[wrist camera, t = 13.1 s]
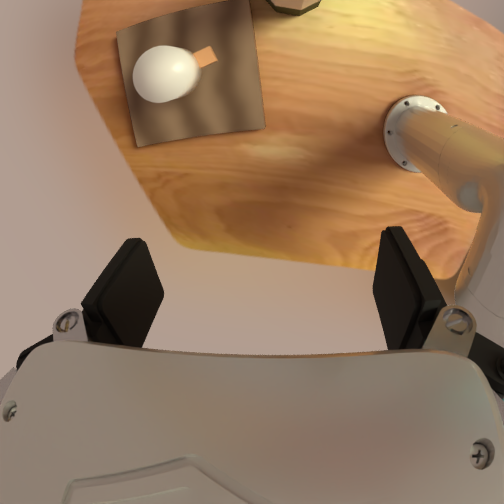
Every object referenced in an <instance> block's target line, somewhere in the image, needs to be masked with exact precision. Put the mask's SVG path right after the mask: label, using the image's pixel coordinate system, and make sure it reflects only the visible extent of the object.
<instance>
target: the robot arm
mask: <svg viewBox="0 0 504 504" xmlns="http://www.w3.org/2000/svg"><path fill="white" fill-rule="evenodd" d="M404 102H406V104H404ZM435 106H436V108H435ZM388 131H390V132H389V133H387V132H388ZM383 135H384V142H385V145H386V148H387V150H388V152H389V154H390V156H391V157H392V158H393V160H394V161H396V162H397V164H399V165H400V166H401V167H403V168H404V169H406V170H409V171H412V172H418V173H423V174H424V175H425V176H426V177H427V178H429V179H430V180H431V181H432V182H433V183H434V184H435V185H436V186H437V187H438V188H439V189H440V190H441V191H442V192H443V193H444V194H445V195H446V196H447V197H448V198H449V199H450V200H451V201H452V202H453V203H455V204H456V205H457V206H458V207H460V208H462V209H463V210H466V211H469V212H473V213H481V217H480V220H479V223H478V226H477V231H476V234H475V237H474V239H473V242H472V245H471V247H470V250H469V253H468V255H467V257H466V260H465V262H464V265H463V267H462V269H461V272H460V274H459V277H458V280H457V283H456V287H455V303H456V305H449V306H447V304H446V302H445V300H444V298H443V296H442V294H441V292H440V290H439V288H438V286H437V284H436V282H435V280H434V278H433V277H432V275H431V273H430V271H429V269H428V267H427V265H426V264H425V262H424V261H423V260H422V259H420V257H419V255H418V253H417V252H416V250H415V248H414V246H413V245H412V243H411V241H410V240H409V238H408V236H407V235H406V233H405V231H404V230H403V228H402V227H401V226H392V227H387V228H386V230H383V231H382V232H381V239H380V246H379V252H378V259H377V265H376V271H375V276H374V282H373V295H374V298H375V302H376V305H377V308H378V312H379V316H380V320H381V324H382V327H383V331H384V335H385V339H386V343H387V347H388V350H384V351H371V352H355V353H336V354H311V355H237V354H212V353H195V352H182V351H169V350H158V349H148V348H142V346H143V343H144V341H145V339H146V336H147V334H148V332H149V329H150V327H151V325H152V322H153V320H154V318H155V316H156V313H157V311H158V308H159V307H160V304H161V302H162V300H163V298H164V290H163V287H162V285H161V282H160V279H159V277H158V275H157V271H156V269H155V266H154V263H153V261H152V258H151V255H150V252H149V250H148V247H147V244H146V242H145V241H143V240H142V239H141V238H132V239H131V238H130V239H127V240H126V241H125V242H124V243H123V245H122V246H121V247H120V249H119V250H118V252H117V253H116V254H115V256H114V257H113V258H112V259H111V261H110V262H109V264H108V265H107V266H106V268H105V269H104V270H103V272H102V273H101V275H100V276H99V277H98V279H97V280H96V282H95V283H94V285H93V286H92V288H91V289H90V290H89V292H88V293H87V295H86V296H85V298H84V299H83V301H82V302H81V305H82V307H83V308H84V309H83V311H82V312H81V311H80V310H79V309H69V310H67V311H65V312H63V313H62V314H60V315H59V316H58V317H57V319H56V320H55V322H54V324H53V334H52V335H50V336H48V337H47V338H45V339H43V340H41V341H39V342H38V343H36V344H34V345H33V346H31V347H29V348H27V349H26V350H24V351H23V352H22V353H21V354H20V356H19V358H18V360H17V365H16V368H17V369H15V368H14V367H13V368H12V369H11V370H10V371H9V372H8V373H7V374H6V375H5V376H4V377H3V378H2V379H1V380H0V504H504V138H502V137H499V136H497V135H495V134H492V133H490V132H488V131H486V130H484V129H482V128H479V127H477V126H475V125H473V124H471V123H468V122H466V121H463V120H461V119H459V118H456V117H454V116H451V115H449V114H448V113H447V112H446V110H445V109H444V108H443V107H442V106H441V104H439V103H438V102H437V101H435V100H433V99H431V98H429V97H426V96H421V95H411V96H407V97H404V98H402V99H401V100H399V101H397V102H396V103H395V104H394V105H393V106H392V108H391V109H390V110H389V112H388V114H387V116H386V118H385V123H384V130H383ZM403 161H404V162H403ZM402 162H403V163H402Z"/></svg>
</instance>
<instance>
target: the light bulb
mask: <svg viewBox="0 0 504 504" xmlns="http://www.w3.org/2000/svg"><path fill="white" fill-rule="evenodd" d="M217 61H218V60H217V58H216V56H215V54H214V52H213V49H212V47H211V46H208V47H206V48H204V49H202V50H199V51H197V52H195V53H192V52H191V51H189V50H187V49H183V48H178V47H172V46H157V47H153V48H151V49H149V50H147V51H146V52H145V53H143V54H142V55H141V57H140V58H139V59H138V60H137V62H136V64H135V67H134V70H133V83H134V87H135V89H136V91H137V92H138V93H139V95H140V96H141V97H143V98H144V99H146V100H147V101H150V102H154V103H163V102H167V101H170V100H174V99H177V98H180V97H183V96H186V95H188V94H189V93H191V92H192V91H193V90H194V89H195V88H196V86H197V85H198V83H199V81H200V78H201V73H202V69H201V68H204V67H206V66H208V65H210V64H212V63H215V62H217Z"/></svg>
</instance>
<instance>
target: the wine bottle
mask: <svg viewBox="0 0 504 504" xmlns="http://www.w3.org/2000/svg"><path fill="white" fill-rule="evenodd" d="M266 1H267V2H268V3H269V4H270V5H271V7H272V8H273V9H274V10H275V11H276V12H279V13H285V14H291V15H296V16H300V15H302V14H304V13H306V12H308V11H310V10H312V9H314V8H316V7H318V5H319V3H320V1H321V0H266Z"/></svg>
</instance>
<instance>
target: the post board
mask: <svg viewBox="0 0 504 504" xmlns="http://www.w3.org/2000/svg"><path fill="white" fill-rule="evenodd" d="M116 35H117V42H118V49H119V56H120V62H121V68H122V74H123V80H124V86H125V91H126V96H127V101H128V106H129V111H130V116H131V121H132V125H133V130H134V134H135V138H136V143H137V147H141V146H146V145H151V144H156V143H161V142H167V141H172V140H178V139H184V138H191V137H197V136H204V135H211V134H219V133H227V132H236V131H246V130H257V129H265V127H266V125H265V116H264V107H263V98H262V90H261V81H260V73H259V65H258V57H257V50H256V42H255V35H254V27H253V20H252V13H251V6H250V1H249V0H230V1H224V2H218V3H213V4H208V5H203V6H198V7H194V8H190V9H185V10H182V11H178V12H174V13H170V14H167V15H163V16H160V17H157V18H154V19H150V20H147V21H144V22H142V23H139V24H136V25H133V26H130V27H128V28H125V29H122V30H120V31H117V32H116ZM157 46H172V47H178V48H183V49H187V50H189V51H191V52H192V53H195V52H197V51H199V50H202V49H204V48H206V47H208V46H211V47H212V49H213V52H214V54H215V56H216V58H217V60H218V61H217V62H215V63H212V64H210V65H208V66H206V67H204V68H201V69H202V73H201V78H200V81H199V83H198V85H197V86H196V88H195V89H194V90H193V91H192V92H191V93H189V94H188V95H186V96H183V97H180V98H177V99H174V100H170V101H167V102H163V103H154V102H150V101H147V100H146V99H144V98H143V97H141V96H140V95H139V93H138V92H137V91H136V89H135V87H134V83H133V70H134V67H135V64H136V62H137V60H138V59H139V58H140V57H141V55H142V54H143V53H145V52H146V51H147V50H149V49H151V48H153V47H157Z"/></svg>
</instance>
